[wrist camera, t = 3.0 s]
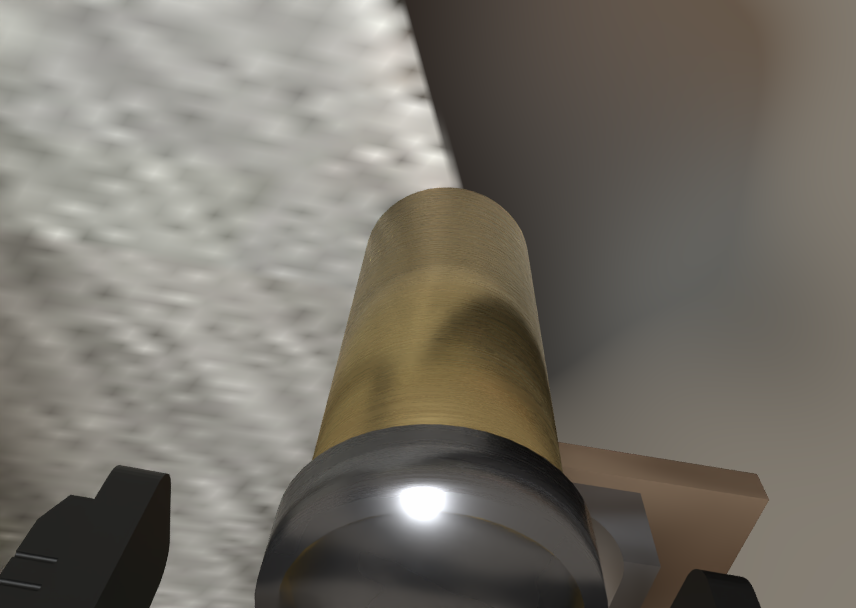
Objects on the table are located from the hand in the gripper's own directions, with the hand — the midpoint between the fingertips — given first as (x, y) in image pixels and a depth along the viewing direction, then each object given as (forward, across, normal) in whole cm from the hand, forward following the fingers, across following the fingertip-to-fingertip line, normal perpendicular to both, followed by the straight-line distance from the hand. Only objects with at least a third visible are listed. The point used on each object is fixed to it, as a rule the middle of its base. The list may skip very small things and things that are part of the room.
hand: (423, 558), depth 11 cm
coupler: (+8, 0, -1) cm, 8 cm away
